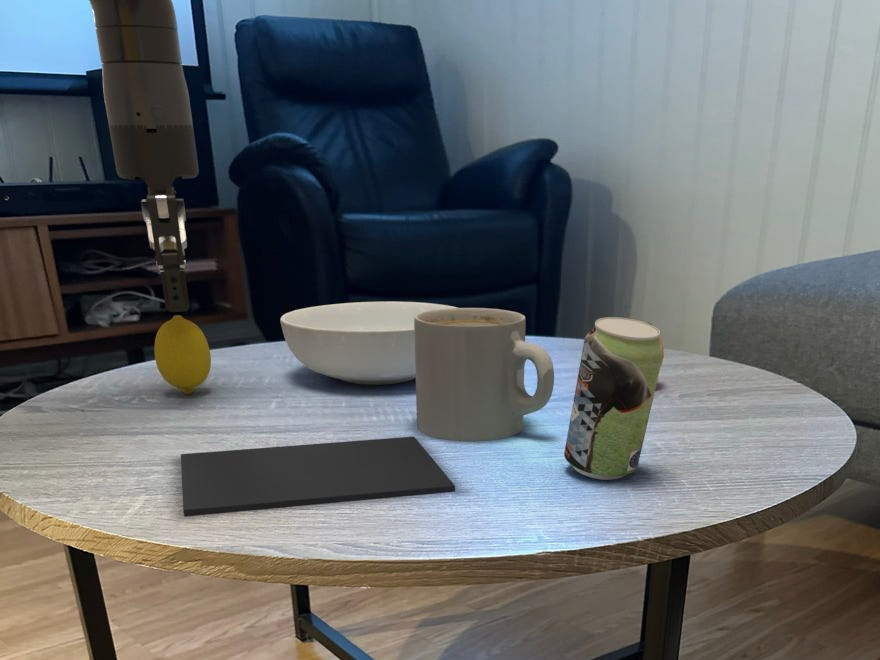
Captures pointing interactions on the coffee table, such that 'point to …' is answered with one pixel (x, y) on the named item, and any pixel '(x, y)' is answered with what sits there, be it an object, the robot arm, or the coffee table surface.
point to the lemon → (182, 354)
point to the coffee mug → (476, 373)
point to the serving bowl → (357, 340)
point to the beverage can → (613, 397)
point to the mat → (308, 475)
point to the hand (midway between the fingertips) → (177, 304)
